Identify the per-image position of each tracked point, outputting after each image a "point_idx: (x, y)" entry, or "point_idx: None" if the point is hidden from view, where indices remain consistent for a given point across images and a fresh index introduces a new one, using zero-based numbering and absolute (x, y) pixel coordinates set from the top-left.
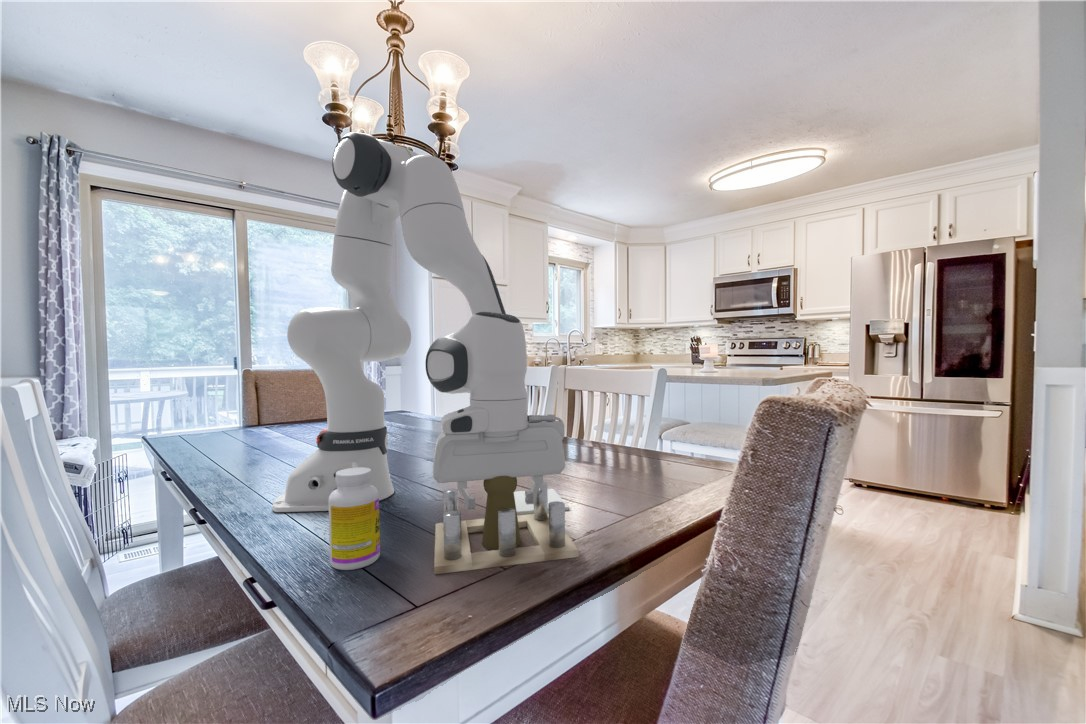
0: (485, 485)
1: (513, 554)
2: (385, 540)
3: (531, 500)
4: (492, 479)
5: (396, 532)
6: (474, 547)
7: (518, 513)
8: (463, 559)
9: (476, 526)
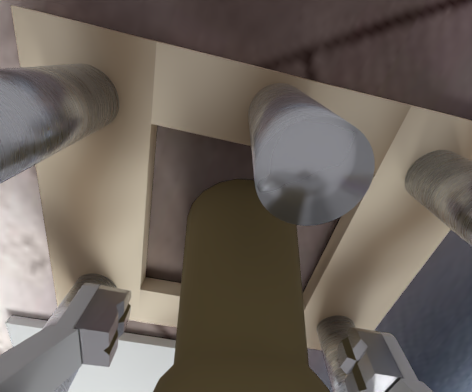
0: None
1: (268, 85)
2: (465, 336)
3: (101, 297)
4: None
5: (424, 357)
6: (318, 230)
7: (145, 339)
8: (420, 141)
9: None
